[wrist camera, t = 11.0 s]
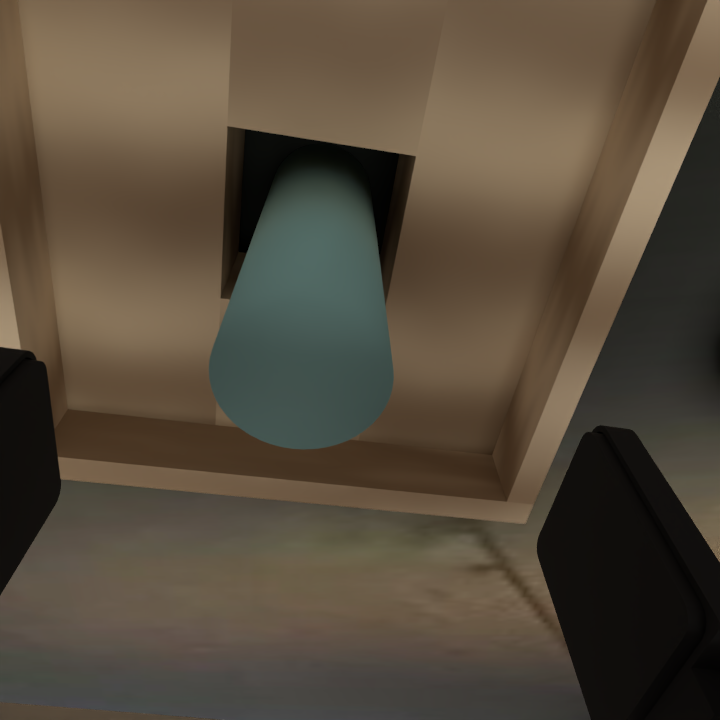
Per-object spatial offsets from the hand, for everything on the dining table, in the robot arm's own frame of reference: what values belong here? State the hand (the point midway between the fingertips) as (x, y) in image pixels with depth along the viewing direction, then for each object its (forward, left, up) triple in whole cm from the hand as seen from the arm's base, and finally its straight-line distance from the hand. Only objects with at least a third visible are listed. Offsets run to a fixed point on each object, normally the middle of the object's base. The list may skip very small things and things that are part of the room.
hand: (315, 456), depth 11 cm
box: (+1, +1, -14) cm, 14 cm away
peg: (0, 0, -14) cm, 14 cm away
